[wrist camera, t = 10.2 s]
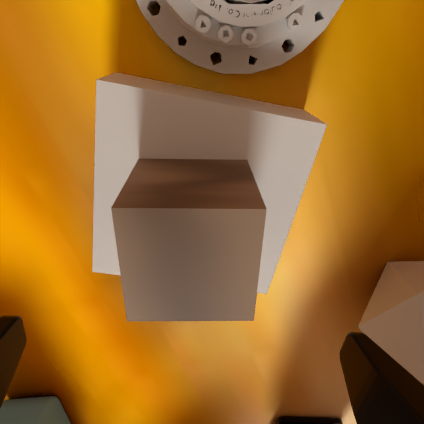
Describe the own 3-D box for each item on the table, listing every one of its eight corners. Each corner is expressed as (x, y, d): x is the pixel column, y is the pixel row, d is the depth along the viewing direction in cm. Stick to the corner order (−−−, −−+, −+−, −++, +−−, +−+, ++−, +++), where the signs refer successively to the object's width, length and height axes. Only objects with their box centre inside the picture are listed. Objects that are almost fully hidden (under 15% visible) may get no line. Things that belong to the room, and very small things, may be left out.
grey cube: (247, 159, 15) (266, 208, 10) (240, 249, 17) (253, 320, 13) (138, 158, 15) (110, 207, 10) (146, 248, 17) (127, 321, 12)
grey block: (301, 108, 18) (327, 124, 14) (256, 253, 22) (266, 293, 19) (118, 71, 16) (96, 79, 13) (110, 233, 21) (92, 271, 17)
